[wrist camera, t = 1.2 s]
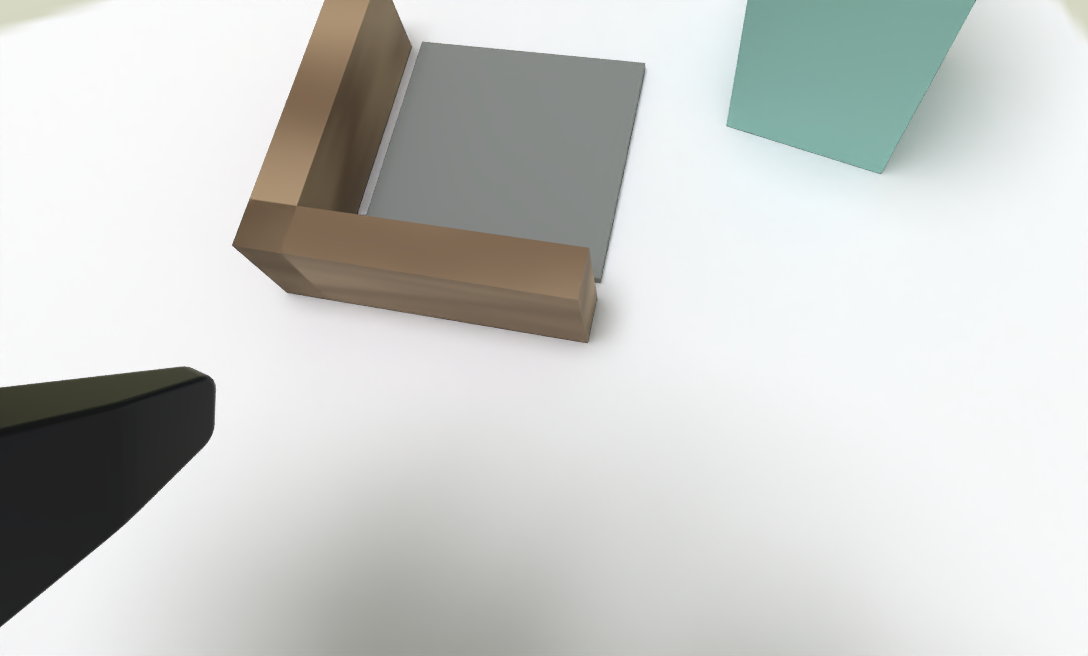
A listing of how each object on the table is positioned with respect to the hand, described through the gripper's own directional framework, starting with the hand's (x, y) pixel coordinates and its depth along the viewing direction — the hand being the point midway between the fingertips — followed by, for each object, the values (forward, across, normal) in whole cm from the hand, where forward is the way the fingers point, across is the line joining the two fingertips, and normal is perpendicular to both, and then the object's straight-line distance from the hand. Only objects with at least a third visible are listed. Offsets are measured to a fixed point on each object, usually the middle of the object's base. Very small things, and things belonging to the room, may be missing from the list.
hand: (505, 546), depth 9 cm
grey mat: (+17, +8, 0) cm, 18 cm away
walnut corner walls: (+16, +9, +1) cm, 18 cm away
